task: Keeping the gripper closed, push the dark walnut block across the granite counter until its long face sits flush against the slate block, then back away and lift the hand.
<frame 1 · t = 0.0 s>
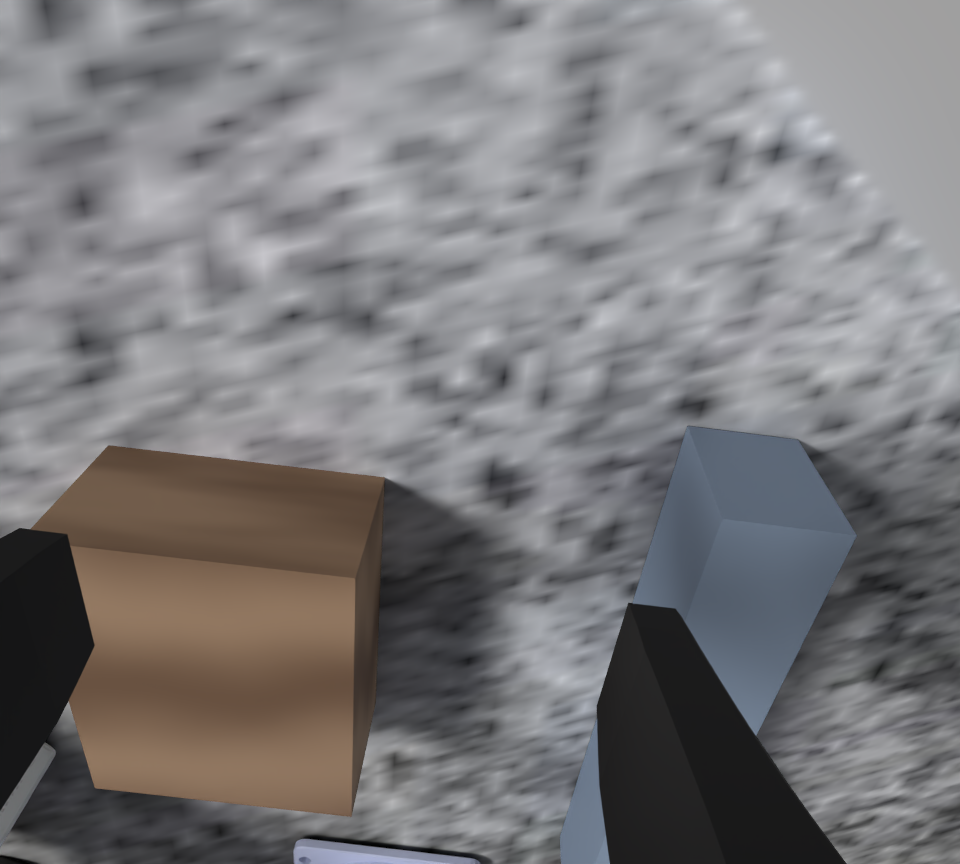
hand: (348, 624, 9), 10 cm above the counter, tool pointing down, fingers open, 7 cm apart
slate block: (653, 680, 24), on the counter
walnut block: (259, 582, 23), on the counter
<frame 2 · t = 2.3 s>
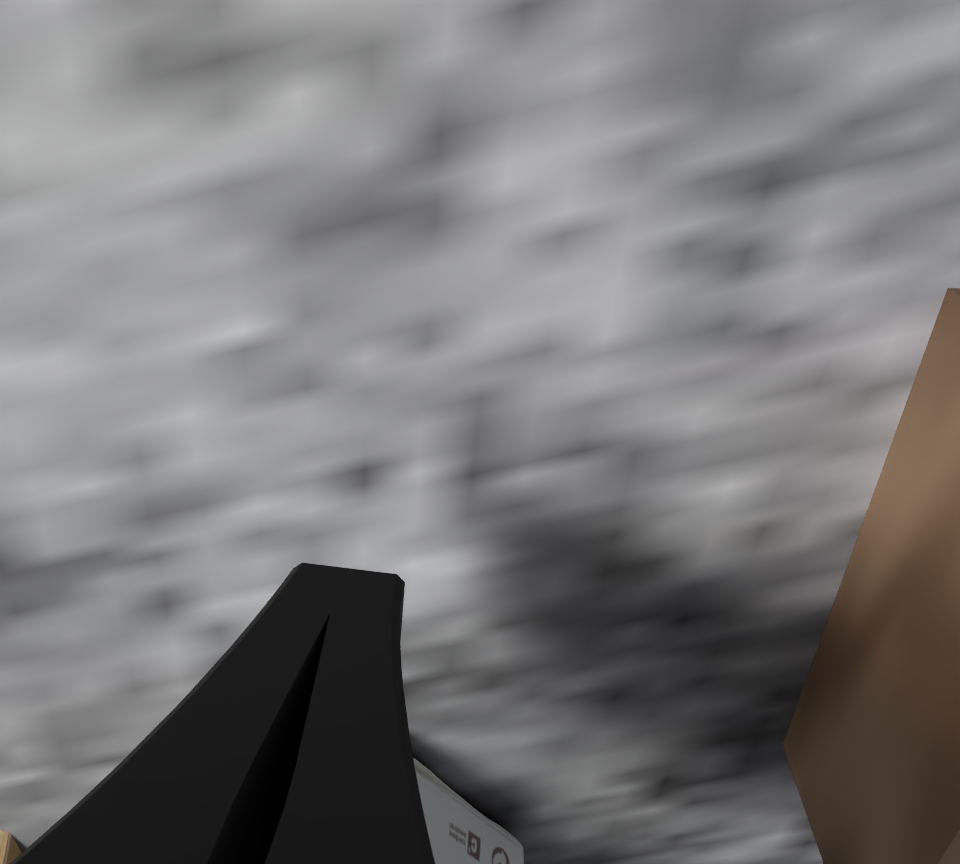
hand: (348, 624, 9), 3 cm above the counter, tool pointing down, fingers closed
skincare box: (332, 830, 18), on the counter
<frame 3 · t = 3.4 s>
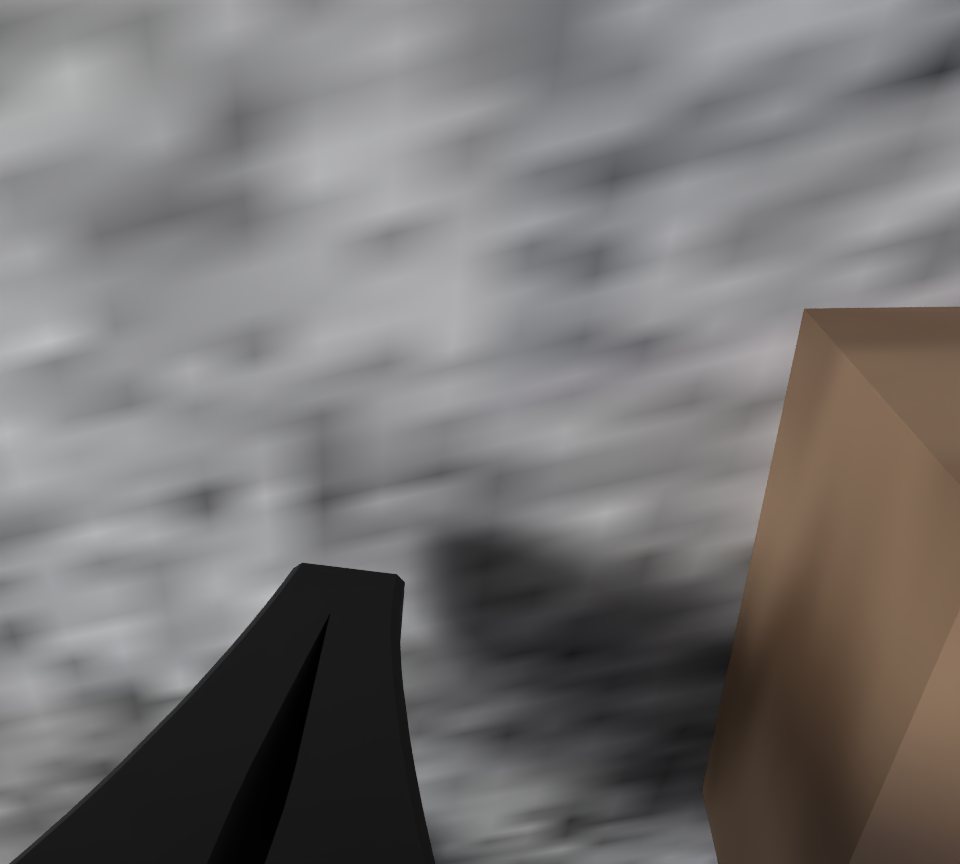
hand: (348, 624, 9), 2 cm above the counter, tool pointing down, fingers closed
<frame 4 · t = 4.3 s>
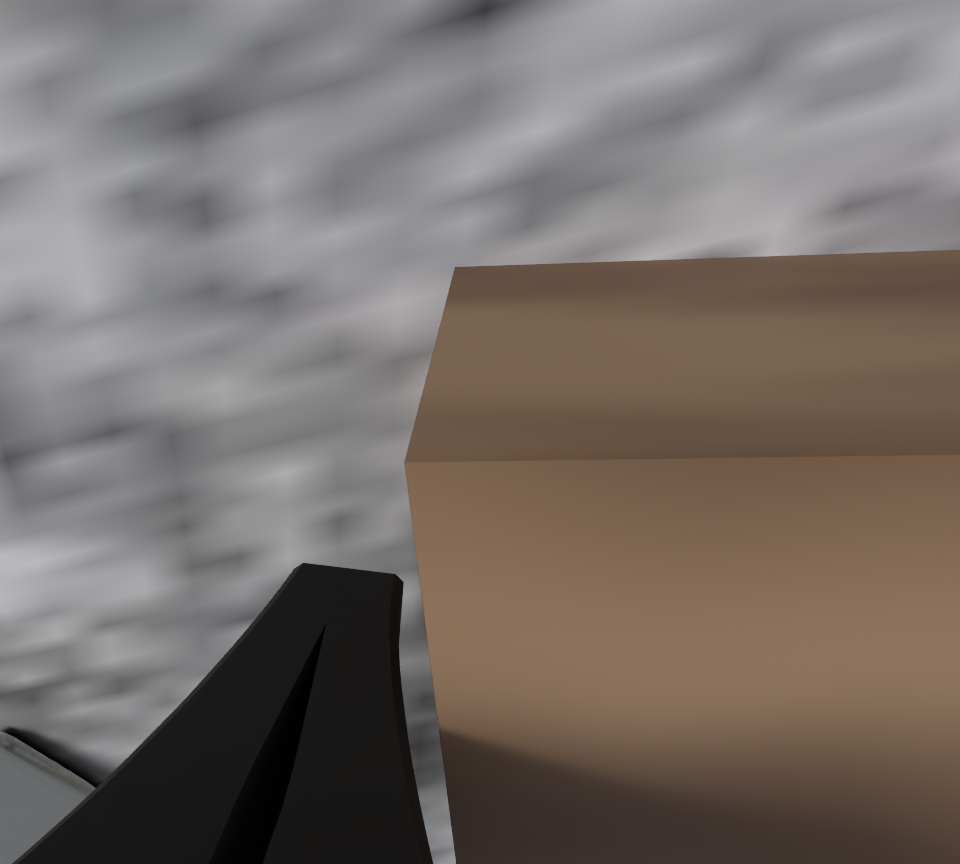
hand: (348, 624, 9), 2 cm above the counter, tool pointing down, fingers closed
skincare box: (24, 843, 17), on the counter
walnut block: (731, 563, 11), on the counter, touching gripper
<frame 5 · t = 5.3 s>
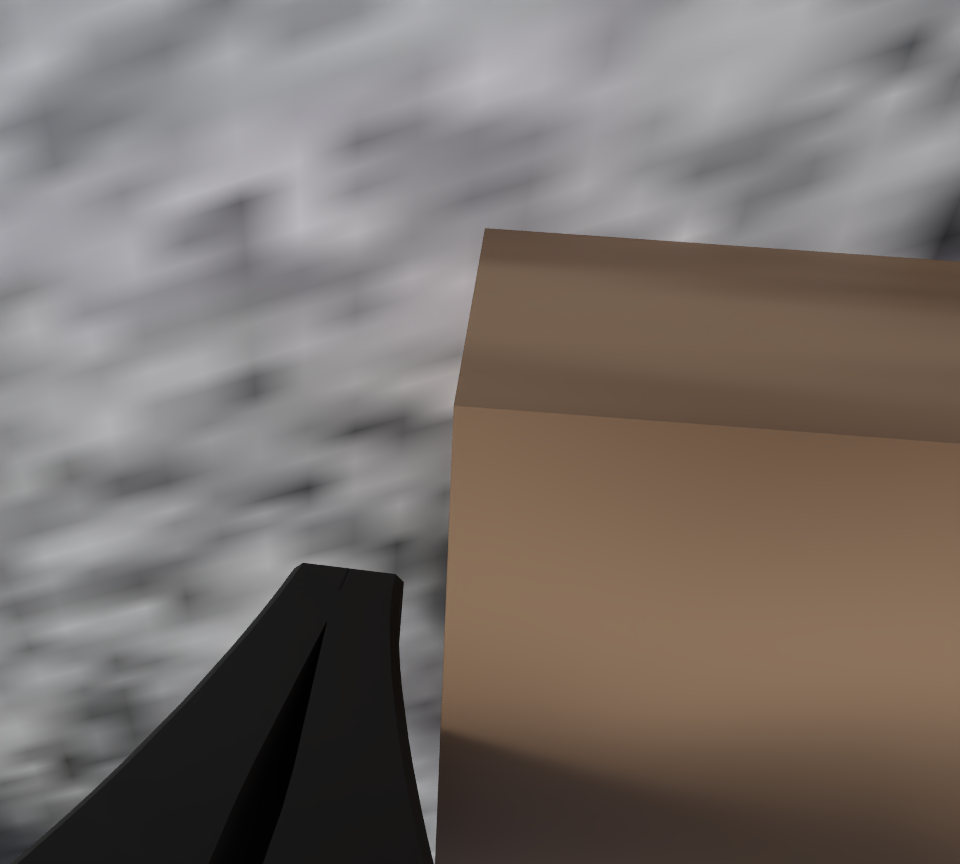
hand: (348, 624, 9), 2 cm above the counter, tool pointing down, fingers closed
walnut block: (720, 561, 11), on the counter, touching gripper
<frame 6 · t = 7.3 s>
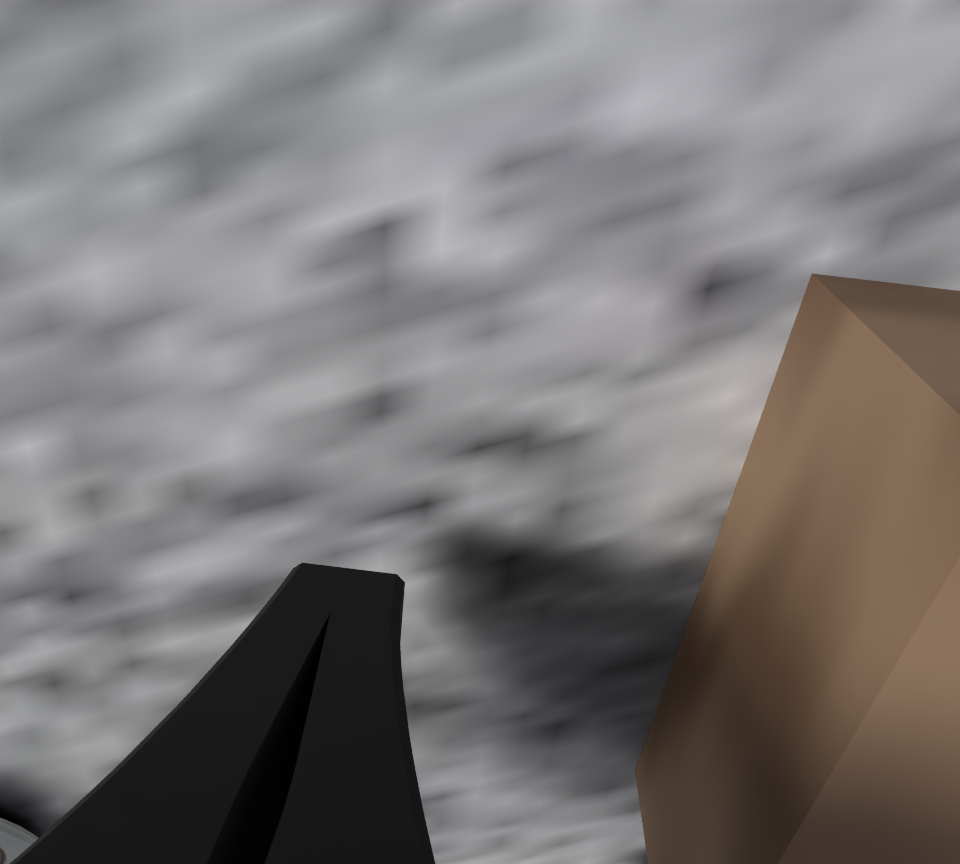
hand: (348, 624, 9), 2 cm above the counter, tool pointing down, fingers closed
walnut block: (945, 595, 12), on the counter
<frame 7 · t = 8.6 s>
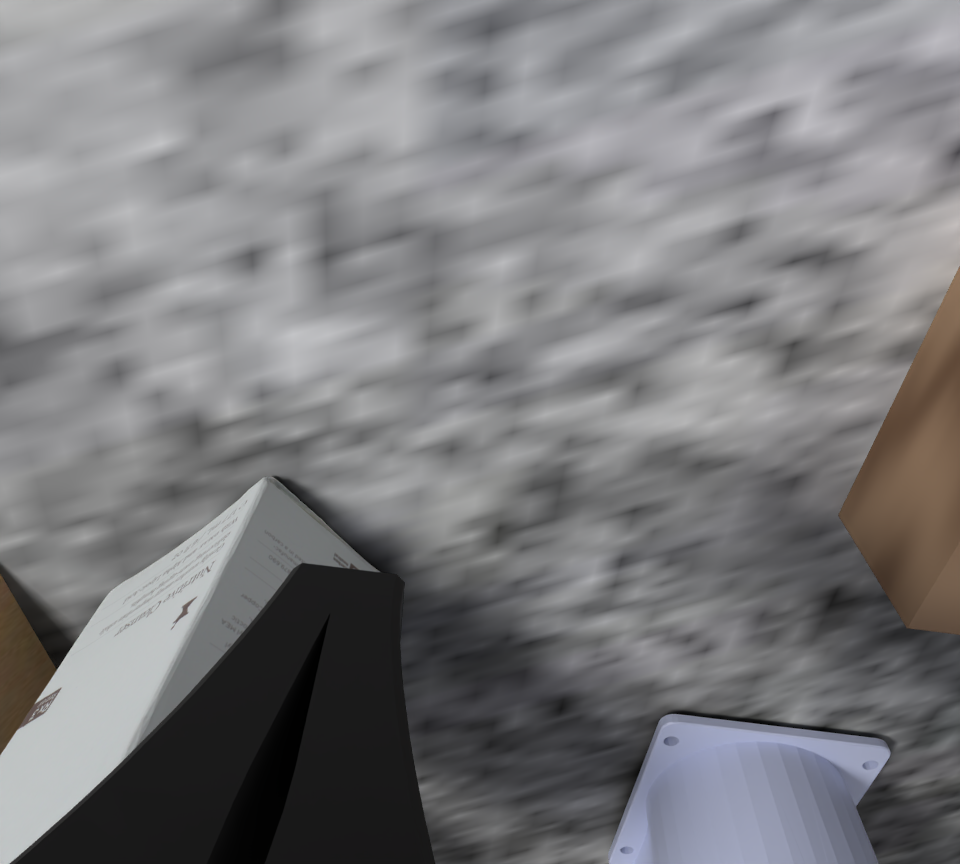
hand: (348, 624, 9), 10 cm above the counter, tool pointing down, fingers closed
skincare box: (256, 588, 23), on the counter
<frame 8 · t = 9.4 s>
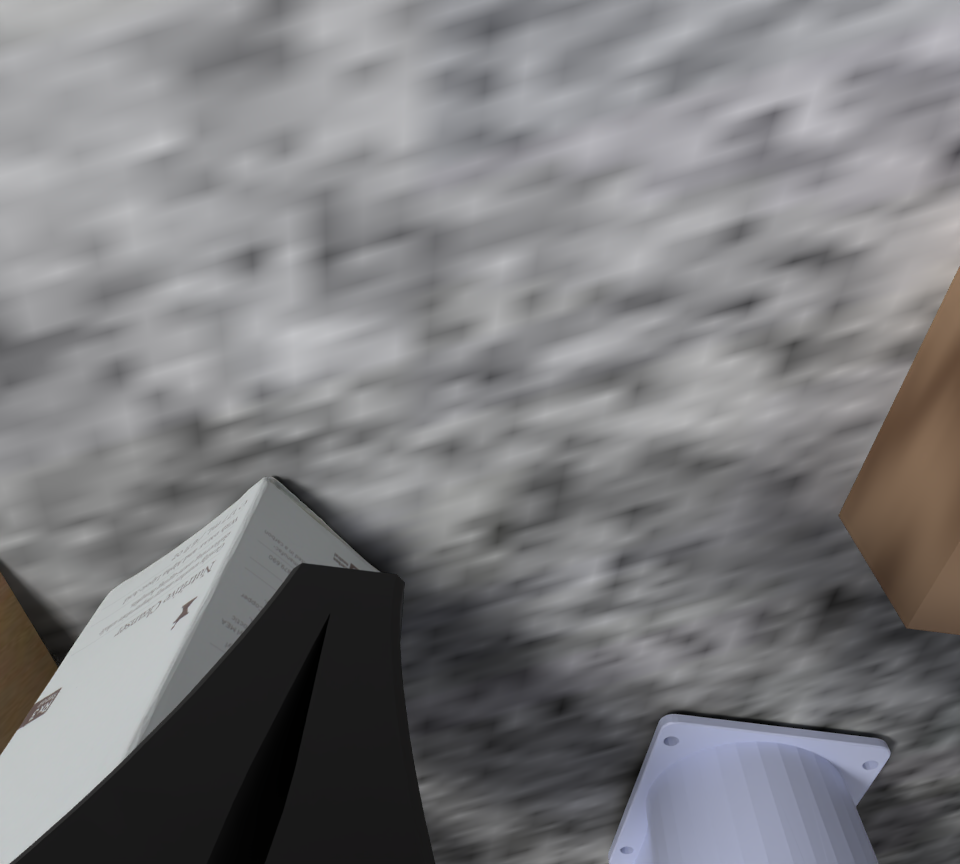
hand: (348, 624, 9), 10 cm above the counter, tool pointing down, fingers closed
skincare box: (256, 588, 23), on the counter
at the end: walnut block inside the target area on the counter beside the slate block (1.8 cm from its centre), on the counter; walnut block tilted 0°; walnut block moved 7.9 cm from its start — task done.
